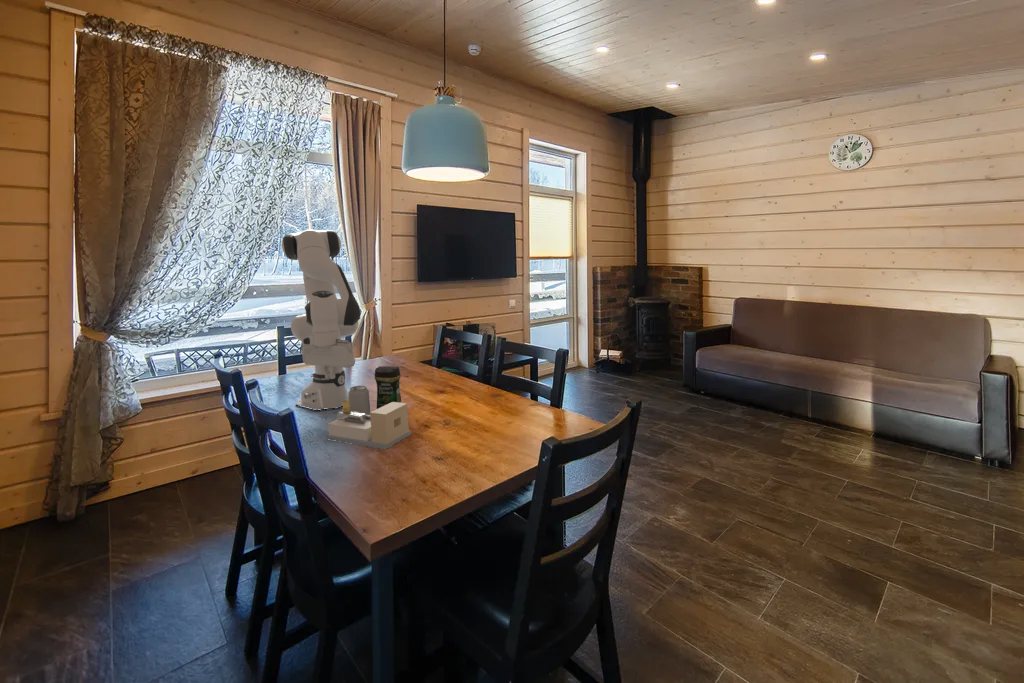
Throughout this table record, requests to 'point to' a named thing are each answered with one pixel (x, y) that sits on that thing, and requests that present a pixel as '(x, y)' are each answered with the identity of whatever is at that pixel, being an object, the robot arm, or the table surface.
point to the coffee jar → (387, 385)
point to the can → (359, 399)
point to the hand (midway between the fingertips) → (330, 378)
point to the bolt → (348, 414)
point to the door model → (373, 427)
